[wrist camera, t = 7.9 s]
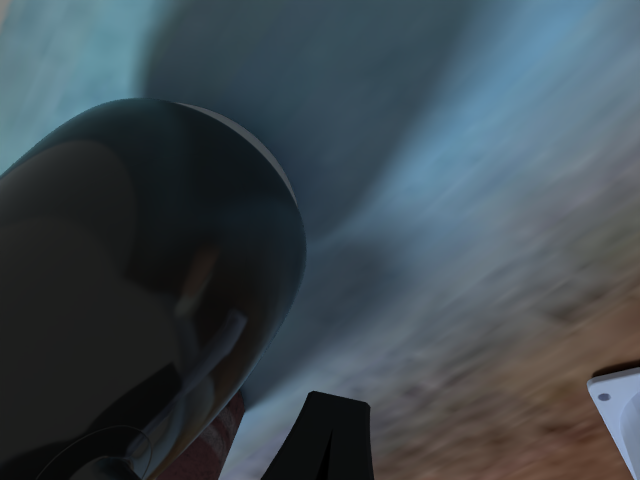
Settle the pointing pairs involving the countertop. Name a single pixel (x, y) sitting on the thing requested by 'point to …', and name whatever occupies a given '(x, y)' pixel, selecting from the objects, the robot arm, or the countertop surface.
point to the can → (209, 446)
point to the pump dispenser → (136, 286)
